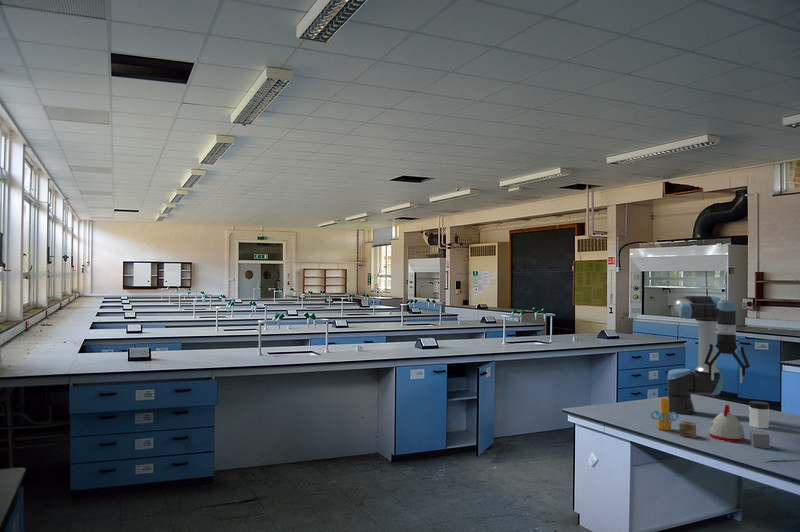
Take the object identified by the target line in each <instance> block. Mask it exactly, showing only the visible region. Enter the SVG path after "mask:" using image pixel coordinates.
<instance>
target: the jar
mask: <svg viewBox="0 0 800 532" xmlns="http://www.w3.org/2000/svg"><path fill="white" fill-rule="evenodd" d="M748 413H749V418H748V419H749V423H748V424H749V427H752V426H753V427H752V428H756V427H757V428H756V429H764V428H767V429H769V428H770V403H768V402H766V401H759V400H750V401H749V411H748Z"/></svg>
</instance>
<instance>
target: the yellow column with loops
mask: <svg viewBox="0 0 800 532" xmlns="http://www.w3.org/2000/svg"><path fill="white" fill-rule="evenodd" d="M654 413H655V415H656V417H654ZM673 414H674V415H675V418H674V416H673ZM650 416H651V418H652V419H653V420H657V429H658V430H660V431H666V432H669V431H672V422H673V421H677V420H678V419H679V414H678V413H676V412H669V398H667V397H660V398H659V409H658V408H657V409H656V410H652V411H651V413H650Z"/></svg>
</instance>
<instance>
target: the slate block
mask: <svg viewBox="0 0 800 532" xmlns="http://www.w3.org/2000/svg"><path fill="white" fill-rule="evenodd" d="M770 436H771V435H770V434H769V433H768V432H767V431H763V430H761V431H760V430H751V429H749V444H750V445H751V446H752V448H755V447H761V448H760V449H765V448H769V449H768V450H770V447H771V443H770V441H771V440H770Z"/></svg>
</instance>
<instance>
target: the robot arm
mask: <svg viewBox="0 0 800 532" xmlns="http://www.w3.org/2000/svg"><path fill="white" fill-rule="evenodd" d="M672 309H673V311H674V313H675V314H676V315H679V318H680V319H686V320H692V319H693V320H695V321H696V322H697V323H698V350H697V351H698V361H697V362H698V363H697V365H698V366H697V367H696V368H694V369H695V370H694V371H692V370H691V369H690V368H674V369H670V370H669V371H667V377H666V378H667V396H666V398H669V412H670V413H671V412H676V413H677V414H678V413H679V414H680V415H693V414H695V407H694V404H693V401H692V394H699V395H708V396H712V395H713V396H714V395H715V396H717V395H719V394H721V391H722V389H723V385H724V384H723V382H724V376H723V374H722V373H720V370H719V369H718V368H717V359H718V357H719V356H720V355H721V354H723V355H726V354H727V355H732V356H733V357H734V358H735V360H736V361H737V363H738V365H739V366H740V368H739V383H740V384H742V383H743V377H745V376H746V369H749V368H751V365H750V362H749V360H748V357H747V354H746V352H745V346H744V345H737V335H736V333H737V304H736V301H734V300H721V298H720V297H719V296H712V295H686V296H681V297H679V298H677V299H675V300H674V301H673V304H672ZM717 349H718V351H717ZM736 350H738V351H739V352H740V354H741V356H742V359H743V361H742V360H741V359H740V357H739V355H737V352H736ZM679 414H678V415H679Z"/></svg>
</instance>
